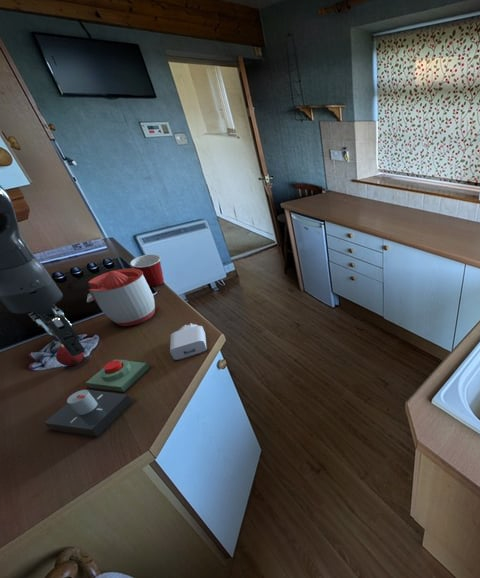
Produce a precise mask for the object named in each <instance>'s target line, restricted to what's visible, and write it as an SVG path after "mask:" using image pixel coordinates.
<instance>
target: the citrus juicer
mask: <svg viewBox="0 0 480 578" xmlns="http://www.w3.org/2000/svg"><path fill="white" fill-rule="evenodd" d="M87 283H88V285H89V287H90V288H89V289H88V291H89V292H88V294H87V295H86V296H87V299H86V303H91V302H93V301H94V302H95V303H96V304H97V305H98V307H99V308H100V310H101V311H102V312H103V314H104V315H105V316H106V317H107V318H109V319H110V320H111V321H112V322H113V323H114V324H117V325H118V326H121V327H131V326H135V325H139V324H141V323H144V322H145V321H147V320H149V319H151V318H152V317H153V316H154V314H155V311H156V303H155V297H154V295H153V292H152V290H151V288H150V286H149V285H148V284H147V282H146V280H145V278H144V276H143V272H142V271H141V270H140V269H135V268H134V267H129V268H128V267H127V268H121V269H115V270H110V271H108V272H105V273H102V274H100V275H97V276H95V277H93V278H91V279H90V280H89V281H88V282H87Z"/></svg>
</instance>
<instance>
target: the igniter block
mask: <svg viewBox="0 0 480 578" xmlns="http://www.w3.org/2000/svg"><path fill="white" fill-rule="evenodd" d="M115 360H116V359H115V358H114V359H113V360H112V361H115ZM117 360H118V361H120V362H121V364H122V366H123V367H122V368H121V369H120V370H119V371H117V372H115V373H111V374H108V373H107V372H106V371H105V369H104V367H103V368H101V369H100V370H99V371H98V372H96V373H95V374H94V375H92V377H90V378H89V379H88V380H87V381H85V384H86V386H87V387H88V388H89V389H96V390H104V391H110V392H111V391H113V392H121V393H125V392H127V390H128V389H129V388H130V387H131V386H132V385H133V384H135V382H137V381H138V380H139V379H140V378H141V377H142V376H143V375H144V374H145V373H146V372H147V371H148V370H149V369H150V366H149V365H148V362H143V361H132V360H127V359H117Z"/></svg>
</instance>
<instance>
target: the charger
mask: <svg viewBox="0 0 480 578" xmlns="http://www.w3.org/2000/svg"><path fill="white" fill-rule="evenodd" d="M169 342H170V343H169V345H170V346H169V353H170V355H171V356H172V358H173V360H175V361H176V360H182V359H186V358H189V357H192V356H195V355H197V354H202V353H204V352H206V351H207V349H208V347H207V338H206V331H205V330H204V326H202V325H198V324H195V323H192V322H190V323H189V324H184V325H183V326H182V327H180V328H179V329H178V330H176V331H174V332H172V333H171V334H170V341H169Z"/></svg>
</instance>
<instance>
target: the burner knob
mask: <svg viewBox="0 0 480 578" xmlns="http://www.w3.org/2000/svg"><path fill="white" fill-rule="evenodd" d="M88 390H89V389H86V390H84V389H81V390H78V391H76V392H74V393H71V394H70V395H69V397H68V398H67V399H66V404H67V403H68V404H69V405H70V406H71V407H72V408H73V410H74V411H75V412H76V413H77V414H78V415H84V414H87V413H89V412H91V411H92V410H94V409H95V408H96V406H97V404H98V403H97V401H96V400H95V399H94V398H93V396H92V395H91V394H90V393H89V391H88Z"/></svg>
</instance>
